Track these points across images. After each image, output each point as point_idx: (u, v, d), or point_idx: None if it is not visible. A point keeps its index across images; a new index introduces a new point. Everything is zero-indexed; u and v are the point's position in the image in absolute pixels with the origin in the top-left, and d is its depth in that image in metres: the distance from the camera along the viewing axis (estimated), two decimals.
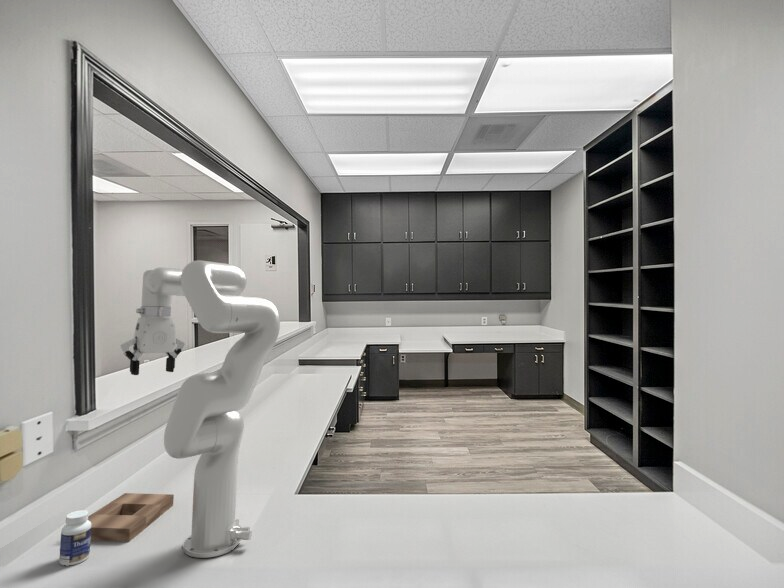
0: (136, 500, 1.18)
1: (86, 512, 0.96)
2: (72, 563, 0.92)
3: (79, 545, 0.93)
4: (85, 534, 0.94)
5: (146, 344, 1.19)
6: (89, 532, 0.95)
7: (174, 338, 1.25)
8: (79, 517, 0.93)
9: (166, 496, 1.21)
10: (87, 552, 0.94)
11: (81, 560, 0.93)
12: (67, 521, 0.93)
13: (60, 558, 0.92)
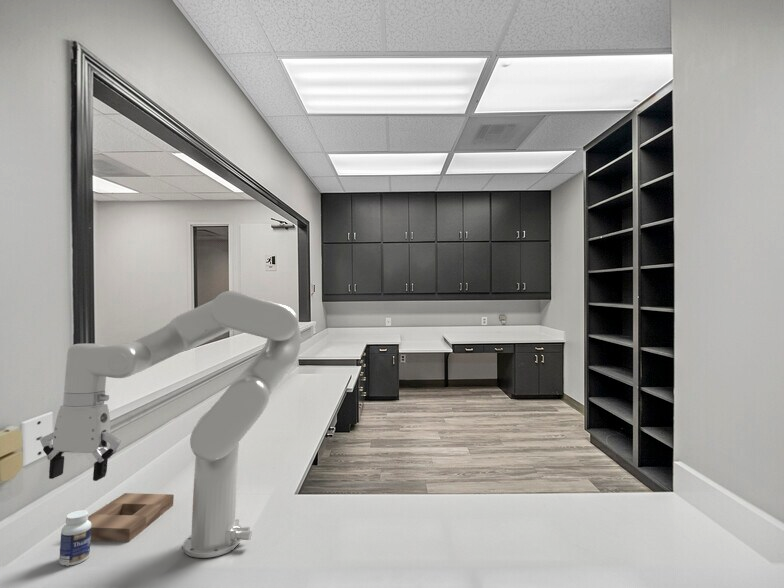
0: (136, 500, 1.18)
1: (86, 512, 0.96)
2: (72, 563, 0.92)
3: (79, 545, 0.93)
4: (85, 534, 0.94)
5: None
6: (89, 532, 0.95)
7: None
8: (79, 517, 0.93)
9: (166, 496, 1.21)
10: (87, 552, 0.94)
11: (81, 560, 0.93)
12: (67, 521, 0.93)
13: (60, 558, 0.92)
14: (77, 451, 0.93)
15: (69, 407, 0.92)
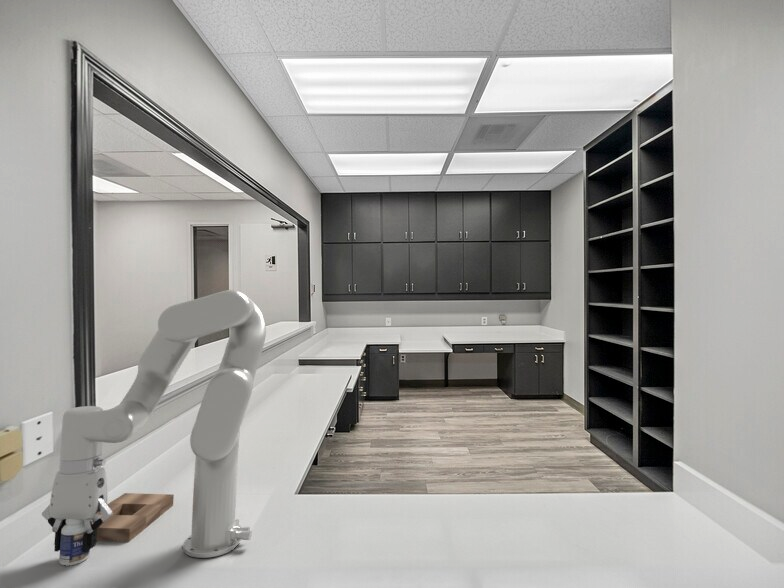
0: (136, 500, 1.18)
1: None
2: (72, 563, 0.92)
3: (79, 545, 0.93)
4: None
5: None
6: None
7: None
8: None
9: (166, 496, 1.21)
10: (87, 552, 0.94)
11: (81, 560, 0.93)
12: (67, 521, 0.93)
13: (60, 558, 0.92)
14: (74, 518, 0.93)
15: (65, 475, 0.92)
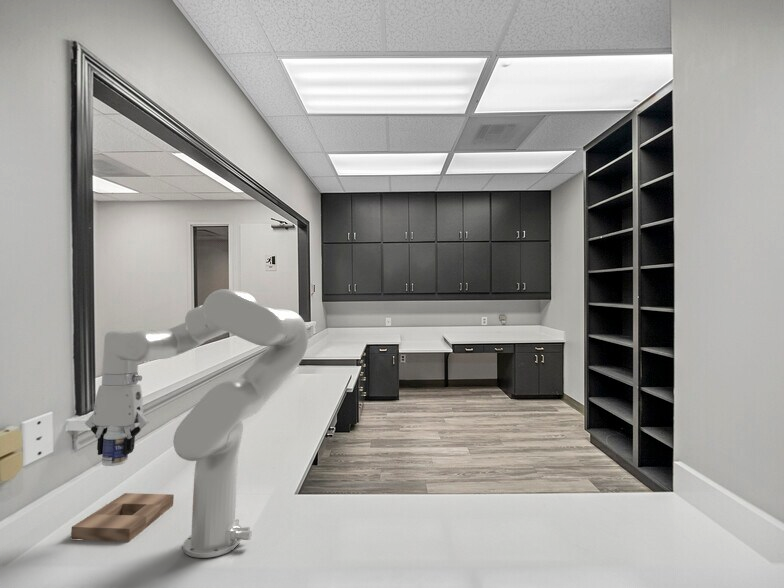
0: (136, 500, 1.18)
1: None
2: (114, 464, 1.05)
3: (120, 449, 1.06)
4: None
5: None
6: None
7: None
8: None
9: (166, 496, 1.21)
10: (126, 456, 1.07)
11: (121, 462, 1.06)
12: (109, 428, 1.06)
13: (103, 460, 1.05)
14: (116, 425, 1.06)
15: (108, 386, 1.04)
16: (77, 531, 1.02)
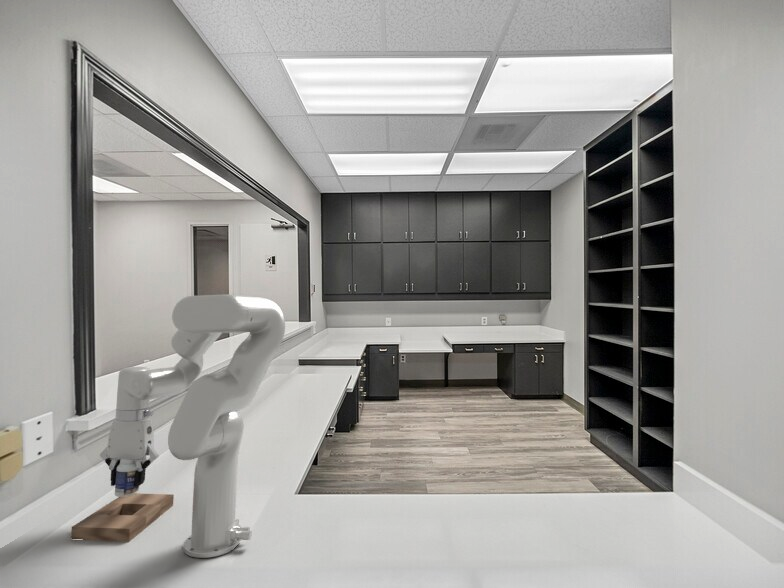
0: (136, 500, 1.18)
1: None
2: (126, 495, 1.10)
3: (132, 481, 1.11)
4: None
5: None
6: None
7: None
8: None
9: (166, 496, 1.21)
10: (137, 487, 1.13)
11: (133, 493, 1.11)
12: (121, 461, 1.11)
13: (116, 491, 1.10)
14: (128, 458, 1.11)
15: (121, 422, 1.10)
16: (77, 531, 1.02)
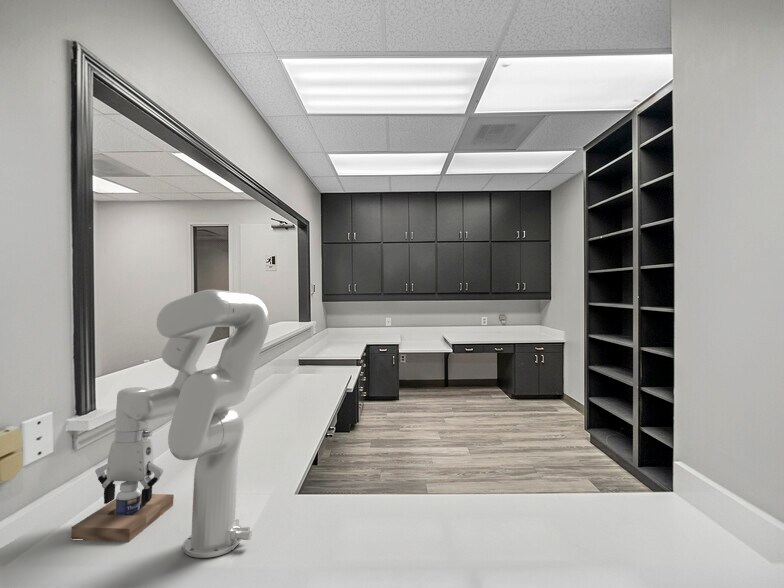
0: None
1: (136, 482, 1.13)
2: None
3: (132, 509, 1.11)
4: (136, 499, 1.11)
5: None
6: (139, 498, 1.13)
7: None
8: (131, 485, 1.11)
9: (166, 496, 1.21)
10: None
11: None
12: (121, 488, 1.11)
13: None
14: (127, 480, 1.11)
15: (120, 443, 1.10)
16: (77, 531, 1.02)
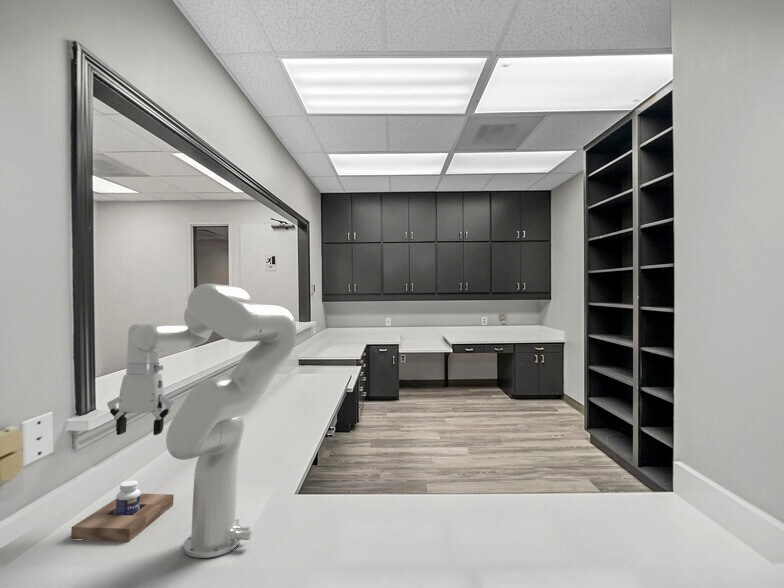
0: None
1: (136, 482, 1.13)
2: None
3: (132, 509, 1.11)
4: (136, 499, 1.11)
5: None
6: (139, 498, 1.13)
7: None
8: (131, 485, 1.11)
9: (166, 496, 1.21)
10: None
11: None
12: (121, 488, 1.11)
13: None
14: (139, 411, 1.14)
15: (133, 375, 1.13)
16: (77, 531, 1.02)
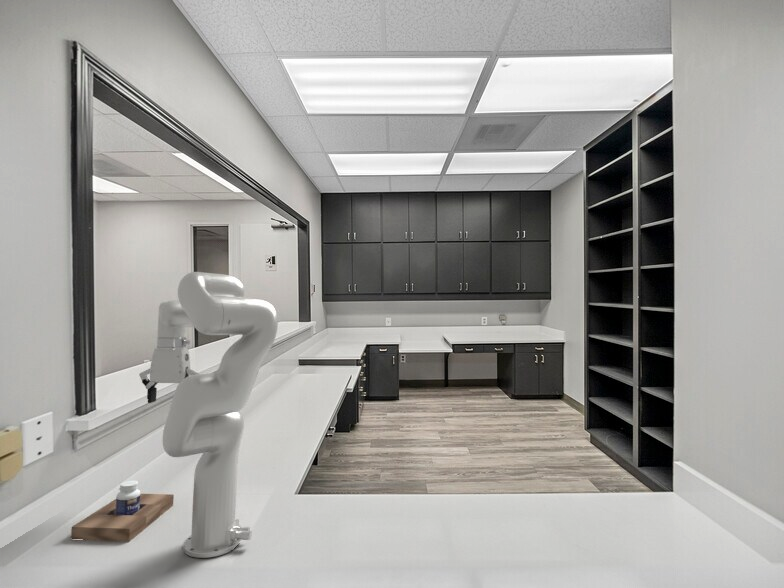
0: None
1: (136, 482, 1.13)
2: None
3: (132, 509, 1.11)
4: (136, 499, 1.11)
5: None
6: (139, 498, 1.13)
7: None
8: (131, 485, 1.11)
9: (166, 496, 1.21)
10: None
11: None
12: (121, 488, 1.11)
13: None
14: (168, 381, 1.24)
15: (163, 348, 1.23)
16: (77, 531, 1.02)
